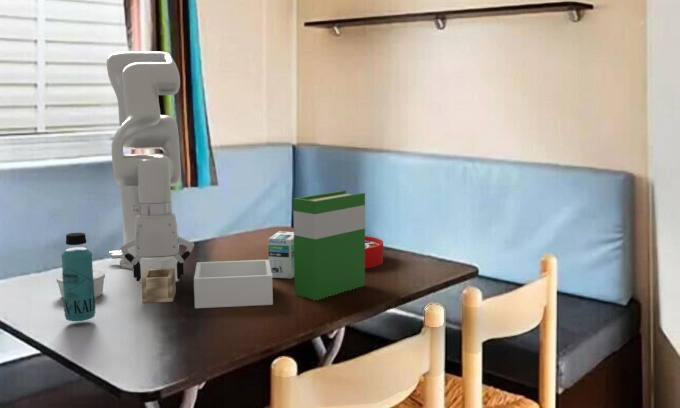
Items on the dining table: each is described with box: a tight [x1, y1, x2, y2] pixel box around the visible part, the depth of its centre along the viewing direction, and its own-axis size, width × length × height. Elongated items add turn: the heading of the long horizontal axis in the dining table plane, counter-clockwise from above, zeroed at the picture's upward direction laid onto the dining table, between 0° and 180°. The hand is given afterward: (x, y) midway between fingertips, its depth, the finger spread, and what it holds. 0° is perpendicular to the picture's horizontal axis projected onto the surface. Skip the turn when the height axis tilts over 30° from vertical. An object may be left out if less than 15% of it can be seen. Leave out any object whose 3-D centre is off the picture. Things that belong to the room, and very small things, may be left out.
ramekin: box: [56, 269, 106, 299], centre depth 180 cm, size 11×11×5 cm
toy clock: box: [365, 235, 384, 269], centre depth 213 cm, size 20×6×20 cm
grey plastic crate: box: [193, 259, 274, 309], centre depth 178 cm, size 18×16×7 cm
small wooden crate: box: [140, 268, 177, 304], centre depth 178 cm, size 7×9×6 cm
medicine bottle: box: [140, 256, 180, 285], centre depth 190 cm, size 7×7×12 cm
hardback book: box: [292, 189, 366, 301], centre depth 182 cm, size 18×7×24 cm, turn 137°
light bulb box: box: [267, 230, 294, 280], centre depth 199 cm, size 11×7×11 cm, turn 168°
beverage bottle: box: [60, 232, 96, 322], centre depth 157 cm, size 6×7×20 cm
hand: (159, 279), depth 177 cm, fingers open, 9 cm apart
